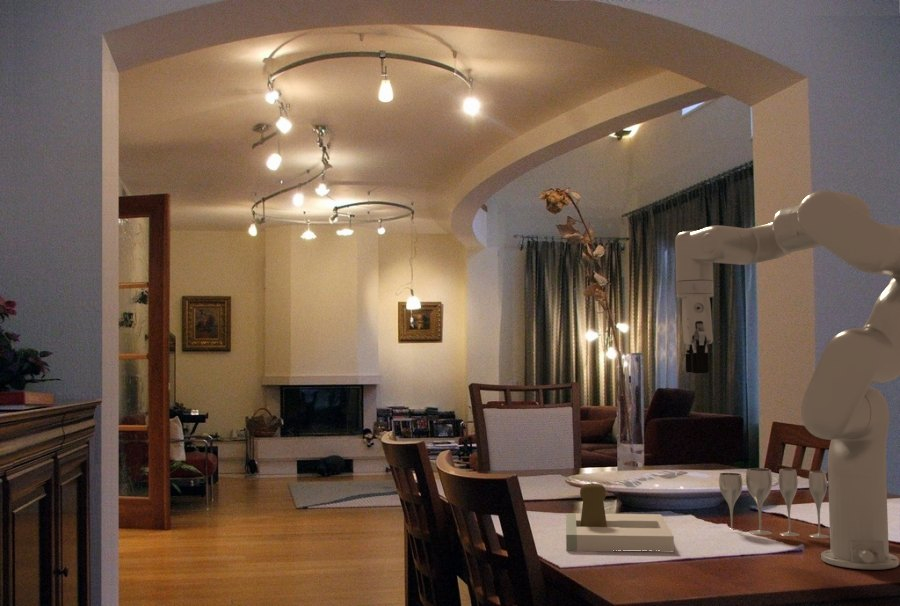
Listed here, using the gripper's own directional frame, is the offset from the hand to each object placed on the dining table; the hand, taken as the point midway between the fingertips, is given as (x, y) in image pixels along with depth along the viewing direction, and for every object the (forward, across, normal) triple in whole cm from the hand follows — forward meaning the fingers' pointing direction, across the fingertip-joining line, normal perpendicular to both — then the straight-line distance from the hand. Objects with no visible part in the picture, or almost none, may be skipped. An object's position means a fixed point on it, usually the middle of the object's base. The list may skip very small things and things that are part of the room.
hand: (696, 372), depth 194 cm
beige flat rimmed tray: (+33, -6, +18) cm, 38 cm away
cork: (+33, -6, +22) cm, 40 cm away
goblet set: (+34, +2, -18) cm, 38 cm away
